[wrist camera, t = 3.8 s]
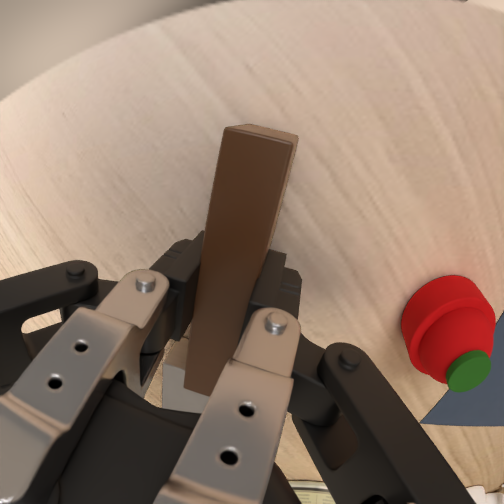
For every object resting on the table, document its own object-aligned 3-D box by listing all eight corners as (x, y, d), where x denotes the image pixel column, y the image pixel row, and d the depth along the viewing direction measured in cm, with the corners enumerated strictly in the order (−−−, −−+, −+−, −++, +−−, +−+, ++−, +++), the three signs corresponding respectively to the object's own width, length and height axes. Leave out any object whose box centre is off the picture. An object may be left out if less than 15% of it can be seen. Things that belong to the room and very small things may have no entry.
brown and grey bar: (211, 116, 10) (176, 117, 8) (336, 146, 10) (346, 157, 7) (172, 419, 18) (156, 453, 15) (236, 439, 18) (225, 477, 15)
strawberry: (426, 263, 11) (460, 320, 8) (494, 287, 11) (533, 339, 7) (385, 341, 13) (398, 406, 9) (452, 355, 12) (474, 413, 9)
